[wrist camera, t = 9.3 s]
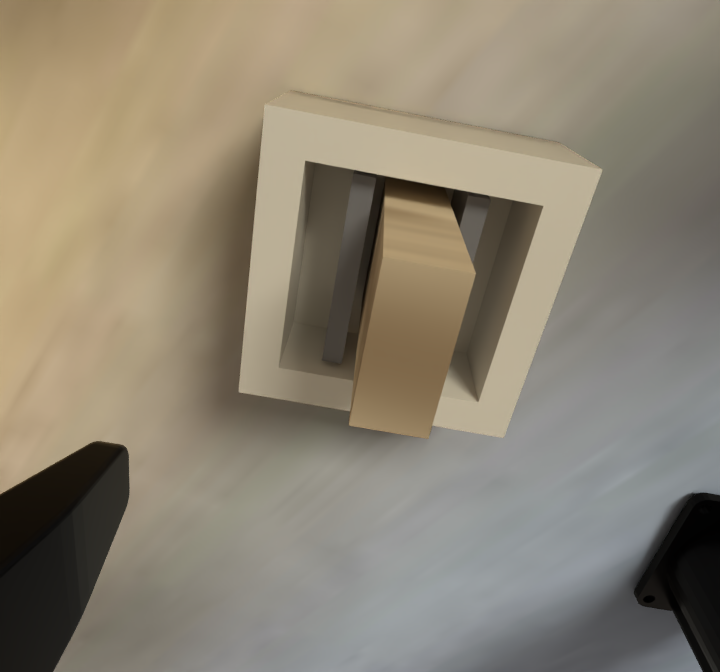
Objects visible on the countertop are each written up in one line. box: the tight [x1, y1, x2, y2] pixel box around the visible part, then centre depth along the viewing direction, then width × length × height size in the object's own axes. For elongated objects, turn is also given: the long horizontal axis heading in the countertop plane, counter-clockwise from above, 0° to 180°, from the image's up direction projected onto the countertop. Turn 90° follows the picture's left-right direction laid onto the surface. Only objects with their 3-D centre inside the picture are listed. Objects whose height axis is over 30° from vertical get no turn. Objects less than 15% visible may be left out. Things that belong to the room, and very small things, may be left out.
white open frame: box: [239, 90, 603, 438], centre depth 17 cm, size 8×8×4 cm
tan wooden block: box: [349, 177, 476, 439], centre depth 15 cm, size 4×2×7 cm, turn 170°
